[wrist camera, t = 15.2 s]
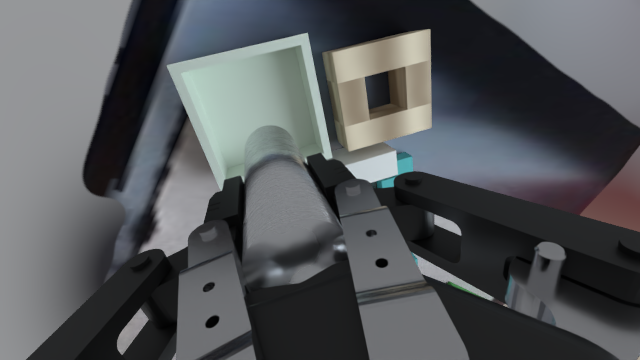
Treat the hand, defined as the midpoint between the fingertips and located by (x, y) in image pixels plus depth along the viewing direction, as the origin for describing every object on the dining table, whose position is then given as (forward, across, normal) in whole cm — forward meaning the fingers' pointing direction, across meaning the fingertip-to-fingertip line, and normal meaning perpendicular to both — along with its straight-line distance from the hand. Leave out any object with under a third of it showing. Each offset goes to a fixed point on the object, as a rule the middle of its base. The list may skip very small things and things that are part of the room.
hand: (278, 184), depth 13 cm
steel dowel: (+5, 0, 0) cm, 5 cm away
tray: (+19, 0, 0) cm, 19 cm away
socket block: (+19, -13, +1) cm, 23 cm away
